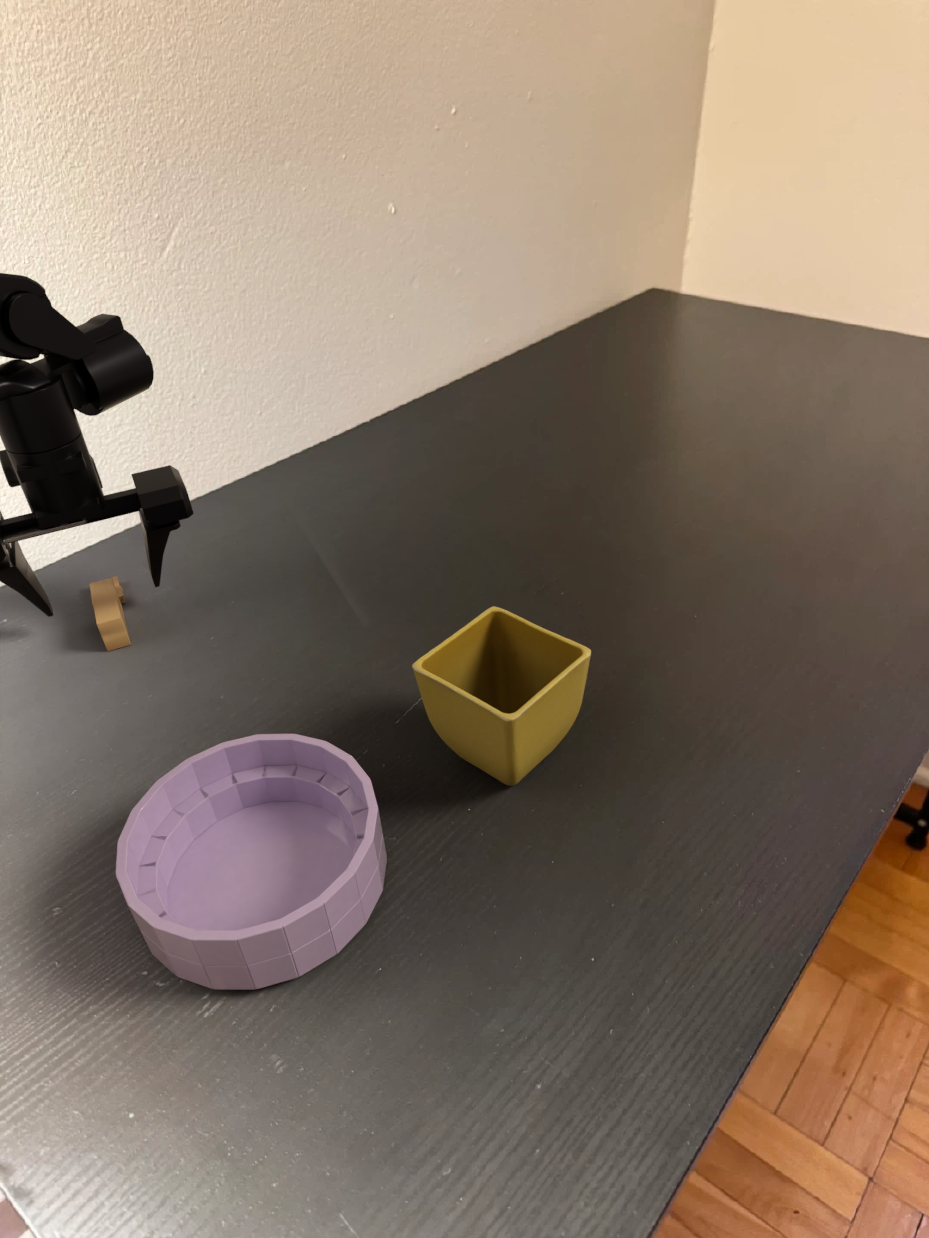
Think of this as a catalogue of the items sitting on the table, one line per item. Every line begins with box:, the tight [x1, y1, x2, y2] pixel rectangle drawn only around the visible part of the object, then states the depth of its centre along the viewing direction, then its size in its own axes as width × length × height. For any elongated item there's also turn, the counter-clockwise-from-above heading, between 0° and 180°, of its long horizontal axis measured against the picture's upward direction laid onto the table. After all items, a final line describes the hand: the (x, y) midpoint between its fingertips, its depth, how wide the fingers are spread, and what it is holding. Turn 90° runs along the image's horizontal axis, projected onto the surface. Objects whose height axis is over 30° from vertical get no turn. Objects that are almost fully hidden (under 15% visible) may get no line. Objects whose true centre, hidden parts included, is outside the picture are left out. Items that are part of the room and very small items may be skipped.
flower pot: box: [411, 605, 592, 787], centre depth 58 cm, size 9×9×9 cm
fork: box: [88, 575, 132, 652], centre depth 77 cm, size 11×3×3 cm, turn 25°
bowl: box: [115, 733, 388, 991], centre depth 52 cm, size 15×15×6 cm
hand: (104, 599), depth 76 cm, fingers open, 9 cm apart
